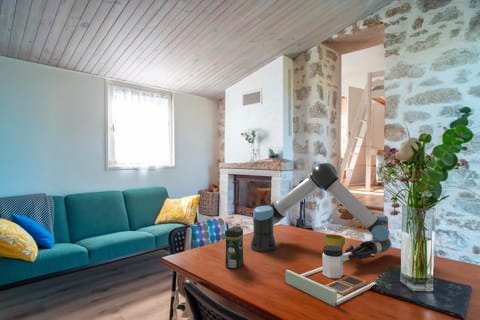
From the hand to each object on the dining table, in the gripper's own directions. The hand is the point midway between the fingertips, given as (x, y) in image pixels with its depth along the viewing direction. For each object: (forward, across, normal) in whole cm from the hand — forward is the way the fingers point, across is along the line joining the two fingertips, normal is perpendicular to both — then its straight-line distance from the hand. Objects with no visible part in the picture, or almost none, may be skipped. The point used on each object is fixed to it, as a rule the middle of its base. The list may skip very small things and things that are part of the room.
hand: (342, 257), depth 131 cm
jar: (+7, 0, -6) cm, 10 cm away
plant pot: (-16, +16, -6) cm, 23 cm away
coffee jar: (+36, +36, -6) cm, 51 cm away
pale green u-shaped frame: (+16, -5, -6) cm, 18 cm away
